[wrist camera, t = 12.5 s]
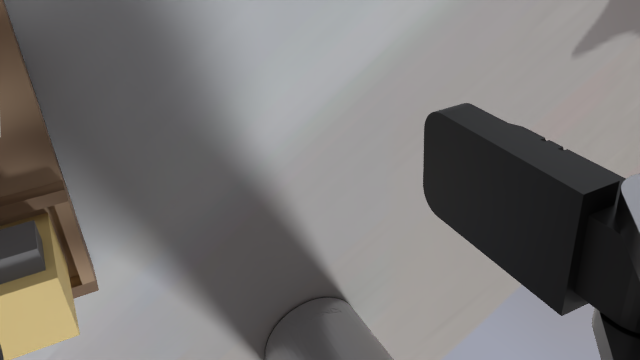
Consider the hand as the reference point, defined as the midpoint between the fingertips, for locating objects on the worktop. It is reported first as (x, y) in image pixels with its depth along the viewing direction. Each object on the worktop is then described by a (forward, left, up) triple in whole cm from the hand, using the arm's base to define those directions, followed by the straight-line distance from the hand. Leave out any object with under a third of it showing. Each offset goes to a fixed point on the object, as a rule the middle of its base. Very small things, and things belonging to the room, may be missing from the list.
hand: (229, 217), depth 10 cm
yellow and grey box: (-15, +7, -26) cm, 31 cm away
